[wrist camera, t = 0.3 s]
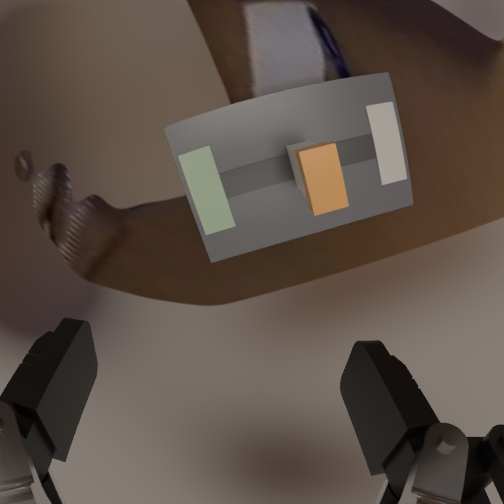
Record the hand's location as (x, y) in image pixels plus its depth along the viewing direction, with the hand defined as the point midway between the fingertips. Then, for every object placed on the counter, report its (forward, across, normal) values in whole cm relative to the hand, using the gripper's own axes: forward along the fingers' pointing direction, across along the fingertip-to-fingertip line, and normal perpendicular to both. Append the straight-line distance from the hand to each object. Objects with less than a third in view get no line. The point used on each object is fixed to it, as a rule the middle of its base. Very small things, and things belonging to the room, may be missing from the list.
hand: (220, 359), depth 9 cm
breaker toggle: (+22, -7, -4) cm, 23 cm away
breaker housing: (+27, -7, -4) cm, 28 cm away
